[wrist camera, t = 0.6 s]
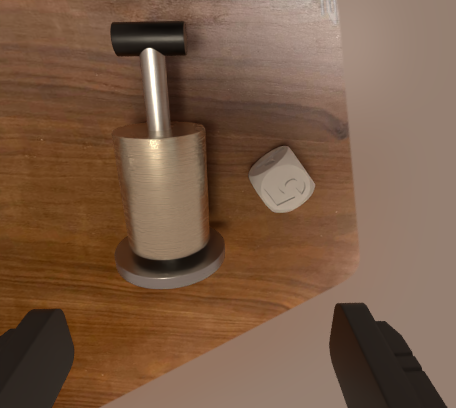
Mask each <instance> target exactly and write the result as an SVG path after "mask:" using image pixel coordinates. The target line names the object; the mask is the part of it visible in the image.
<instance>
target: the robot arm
mask: <svg viewBox="0 0 456 408" xmlns="http://www.w3.org/2000/svg"><path fill="white" fill-rule="evenodd" d="M329 345H330V346H329V348H330V356H331V360H332V364H333V367H334V370H335V373H336V376H337V378H338V381H339V384H340V387H341V390H342V393H343V396H344V398H345V401H346V404H347V407H348V408H447V406H446V405H445V403H444V402H443V400H442V398H441V397H440V395H439V394H438V392H437V391H436V389H435V387H434V386H433V385H432V383H431V381H430V380H429V378H428V376H427V375H426V373H425V372H424V371H422V367H421V365H420V364H419V362H418V361H417V359H416V358H415V356H413V354H412V351H411V350H410V348H409V347H408V345H407V343H406V342H405V340H404V339H403V337H402V336H401V335H400V334H399V333H398V332H397V331H396V330H395V329H393V328H392V327H391V326H390V325H389V324H388V323H387V322H385V321H375V320H374V318H373V316H372V315H371V313H370V311H369V309H368V308H367V306H366V305H365V304H364V303H337V304H336V306H335V309H334V315H333V322H332V328H331V335H330V342H329ZM73 359H74V345H73V342H72V338H71V335H70V332H69V329H68V325H67V322H66V319H65V315H64V313H63V311H62V310H61V309H33V310H31V311H29V312H28V313H27V314H26V316H25V317H24V318H23V320H22V321H21V322H20V324H19V325H18V326H17V328H16V329H9V330H8V331H7V332H5V333H4V334H3V335H2V336H0V408H52V406H53V404H54V402H55V400H56V398H57V396H58V394H59V392H60V390H61V388H62V385H63V383H64V381H65V379H66V377H67V375H68V373H69V371H70V369H71V366H72V363H73Z"/></svg>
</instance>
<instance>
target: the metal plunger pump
mask: <svg viewBox="0 0 456 408" xmlns="http://www.w3.org/2000/svg"><path fill="white" fill-rule="evenodd" d="M111 41H112V46H113V49H114V51H115V54H116V55H117V56H140V64H141V73H142V82H143V91H144V100H145V108H146V117H147V122H146V123H138V124H132V125H127V126H123V127H119V128H117V129H115V130H113V131H112V138H113V144H114V151H115V157H116V163H117V170H118V176H119V182H120V189H121V195H122V201H123V208H124V214H125V220H126V227H127V233H128V236H127V237H125V238H124V239H123V240H122V241H121V242H120V243H119V245H118V246H117V248H116V251H115V261H116V267H117V270H118V272H119V274H120V275H121V276H122V277H123V278H124V279H125V280H126V281H128V282H130V283H132V284H134V285H137V286H140V287H145V288H151V289H172V288H179V287H183V286H188V285H191V284H194V283H196V282H199V281H201V280H203V279H205V278H207V277H209V276H210V275H212V274H213V273H214V272H215V271H216V270H217V269H218V268H219V267H220V266H221V264H222V263H223V260H224V257H225V243H224V239H223V237H222V236H221V234H220V233H219V232H217V231H216V230H215V229H213V228H211V227H209V206H208V182H207V158H206V134H205V127H204V126H203V125H200V124H197V123H191V122H179V121H170V109H169V97H168V85H167V73H166V61H165V56H185V55H187V31H186V24H185V22H184V21H167V22H113V23H112V24H111Z"/></svg>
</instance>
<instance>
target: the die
mask: <svg viewBox="0 0 456 408" xmlns="http://www.w3.org/2000/svg"><path fill="white" fill-rule="evenodd" d="M248 177H249V179H250V181H251V183H252V185H253V187H254V189H255V190H256V192H257V193H258V195H259V196H260V197H261V199H262V200H263V202H264V203H265V204H266V205H267V206H268V208H269V209H270V210H271V211H273V212H277V213H285V212H289V211H292V210H294V209H296V208H297V207H299V206H300V205H302V204H303V203H304V202H305V201H307V200H308V199H309V197H310V196H311V195H312V193H313V191H314V188H315V183H314V182H313V180H312V179H311V177H310V176H309V175H308V173H307V172H306V170H305V169H304V167H303V166H302V164H301V163H300V162H299V160H298V159H297V157H296V156H295V155H294V153H293V152H292V150H291V149H290V148H289V146H281V147H278V148H276V149H274V150H272V151H270V152H269V153H267V154H266V155H264V156H263V157H262V158H260V159H259V160H258V161H257V162H256V163H255V164H254V165H253V166H252V168H251V169H250V171H249V175H248Z"/></svg>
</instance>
